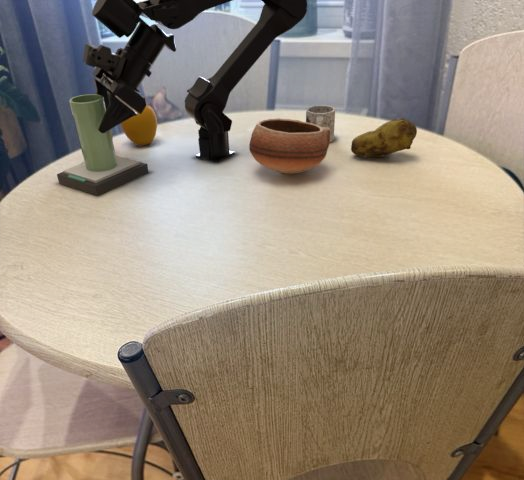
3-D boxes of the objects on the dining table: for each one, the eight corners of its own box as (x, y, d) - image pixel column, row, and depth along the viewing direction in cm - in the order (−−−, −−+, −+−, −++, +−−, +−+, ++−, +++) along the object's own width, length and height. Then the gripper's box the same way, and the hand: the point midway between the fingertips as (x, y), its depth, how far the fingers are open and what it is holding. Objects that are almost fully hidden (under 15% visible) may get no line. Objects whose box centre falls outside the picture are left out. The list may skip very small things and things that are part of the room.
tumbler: (122, 161, 111) (109, 95, 103) (106, 173, 107) (91, 104, 98) (97, 159, 113) (81, 93, 105) (80, 170, 108) (62, 102, 100)
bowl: (341, 168, 111) (344, 118, 105) (292, 192, 102) (292, 139, 96) (285, 152, 120) (284, 105, 113) (235, 173, 111) (232, 123, 105)
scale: (110, 162, 119) (108, 150, 117) (148, 172, 113) (146, 160, 111) (59, 183, 110) (55, 171, 108) (97, 196, 104) (94, 183, 103)
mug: (306, 134, 129) (307, 105, 125) (334, 134, 128) (335, 105, 124) (303, 148, 121) (303, 118, 117) (332, 149, 120) (334, 118, 116)
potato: (359, 147, 121) (362, 110, 115) (416, 154, 116) (422, 116, 111) (347, 159, 115) (349, 121, 110) (405, 168, 110) (411, 128, 105)
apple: (143, 135, 133) (137, 97, 127) (168, 140, 129) (162, 101, 123) (117, 145, 127) (109, 106, 122) (142, 151, 123) (135, 111, 118)
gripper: (92, 17, 102) (50, 88, 106) (114, 31, 89) (66, 111, 93) (139, 58, 110) (98, 122, 114) (166, 76, 97) (120, 148, 100)
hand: (95, 125), depth 105 cm, fingers open, 9 cm apart
